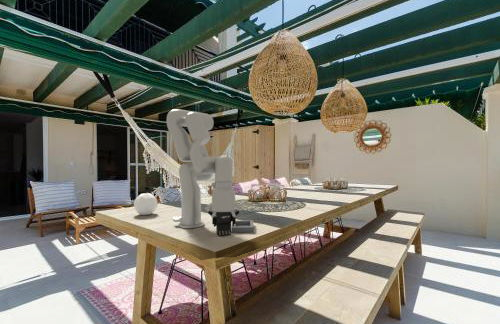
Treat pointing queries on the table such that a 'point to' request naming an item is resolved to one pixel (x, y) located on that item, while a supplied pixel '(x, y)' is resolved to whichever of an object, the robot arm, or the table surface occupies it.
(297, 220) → the table surface
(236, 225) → the dock
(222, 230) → the battery
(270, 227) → the table surface
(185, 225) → the robot arm
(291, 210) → the table surface
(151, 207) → the geodesic sphere
